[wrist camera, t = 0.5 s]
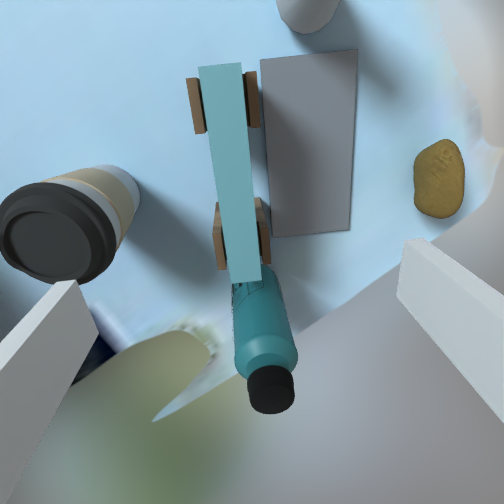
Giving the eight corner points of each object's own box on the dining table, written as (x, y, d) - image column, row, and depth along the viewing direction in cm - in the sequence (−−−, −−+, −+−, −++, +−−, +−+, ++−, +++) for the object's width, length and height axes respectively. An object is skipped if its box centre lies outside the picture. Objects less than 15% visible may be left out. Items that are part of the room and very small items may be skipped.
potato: (416, 212, 41) (456, 237, 33) (377, 178, 38) (411, 197, 31) (459, 169, 38) (511, 185, 31) (421, 130, 36) (469, 138, 29)
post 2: (220, 231, 40) (218, 270, 31) (216, 202, 38) (212, 234, 29) (261, 226, 40) (271, 264, 31) (259, 197, 38) (268, 227, 29)
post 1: (204, 124, 34) (195, 134, 25) (197, 83, 32) (185, 78, 23) (252, 119, 34) (260, 127, 25) (248, 78, 32) (256, 70, 23)
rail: (230, 263, 33) (230, 283, 29) (202, 71, 25) (198, 67, 21) (258, 260, 33) (261, 280, 30) (239, 67, 25) (240, 62, 21)
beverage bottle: (235, 253, 41) (240, 370, 24) (282, 260, 42) (321, 378, 25) (227, 292, 44) (225, 424, 26) (271, 298, 45) (298, 429, 28)
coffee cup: (137, 149, 35) (80, 183, 21) (158, 223, 39) (121, 289, 25) (58, 160, 35) (-49, 200, 21) (87, 233, 39) (13, 304, 25)
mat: (272, 236, 41) (273, 238, 40) (259, 60, 32) (260, 59, 31) (346, 227, 41) (348, 229, 40) (355, 49, 32) (357, 49, 31)
